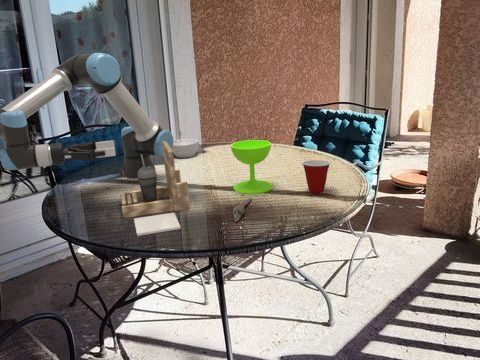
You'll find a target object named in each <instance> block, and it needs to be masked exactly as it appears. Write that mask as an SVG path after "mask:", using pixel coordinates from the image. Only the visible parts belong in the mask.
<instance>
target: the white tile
mask: <svg viewBox="0 0 480 360" xmlns="http://www.w3.org/2000/svg"><path fill="white" fill-rule="evenodd" d="M133 220H134V221H133V222H134V226H135V232H136V237H140V236H145V235H151V234H157V233H159V234H160V233H163V232H165V233H166V232H170V231H175V230H176V231H177V230H181V229H182V228H181V225H180V223H179V220H178V217H177V215H176V213H175V212H170V213H168V212H167V213H163V214H162V213H161V214H155V215H150V216H149V215H147V216H143V217H137V218H135V217H134V218H133Z"/></svg>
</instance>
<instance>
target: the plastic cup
mask: <svg viewBox="0 0 480 360" xmlns="http://www.w3.org/2000/svg"><path fill="white" fill-rule="evenodd" d="M331 163H332V162H331V161H329V160H325V159H323V160H322V159H308V160H304V161H302V162H301V164H302V167H303V169H304V175H305V179H306V184H307V188H308V192H309V193H310V194H315V195H319V194H323V193H324V192H325V188H326V182H327V178H328V171H329V169H330V165H331Z"/></svg>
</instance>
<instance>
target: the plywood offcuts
mask: <svg viewBox="0 0 480 360" xmlns="http://www.w3.org/2000/svg"><path fill="white" fill-rule="evenodd" d="M131 192H132V191H131ZM121 196H122V204H121V205H122V206H127V205H134V204H139V203H138V202H137V198H136V194H135V192H132V197H133V203H132V202H131V197H130V194H129V195H127V200H128V203H126V201H125V194H121Z"/></svg>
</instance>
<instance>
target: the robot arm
mask: <svg viewBox="0 0 480 360" xmlns="http://www.w3.org/2000/svg"><path fill="white" fill-rule="evenodd" d="M120 69H121V67H120V64H119V62H118V61H117V59H115V57H114V56H112V55H111V54H108V53H103V52H95V53H80V54H77V55H74V56H72V57H69V58H68V59H66V60H65V61H64V62H62V63H61V64H59V65H58V66H56V67H55V68H53V69H52V71H51V74H50V75H48V76H47V77H46V78H44V79H43V80H41V81H40V82H38V83H36V85H34V86H33V87H31V88H30V89H28V90H27V91H26V92H24V93H22V94H21V95H19V96H18V97H16V98H15V99H14V100H12V101H10V103H8V104H7V105H5V106H4V107H2V108H1V109H0V139H4V144H5V148H2V149H1V150H0V162H1V166H2V168H3V169H4V170H5V171H14V170H15V171H16V170H17V171H18V170H19V171H20V170H26V169H33V168H41V167H42V168H43V169H46V168H47V167H50V166H52V165H54V166H59V165H64V164H65V162H66V161H97V158H107V157H116V146H115V140H105V141H104V140H103V141H97V142H96V140H93V139H92V140H91V141H88V142H85V143H84V142H83V143H79V144H78V143H77V144H73V145H72V144H71V145H67V146H66V148H64V145H63V144H62V142H55V143H51V144H50V145H49V143H43V144H34V145H31V140H30V135H29V128H28V121H27V119H28V118H29V117H30V116H32V115H34V114H35V113H36V112H38V111H39V110H41V109H42V108H43V107H45V106H46V105H47V104H49V103H50V102H51V101H53V100H54V99H55V98H57V97H58V96H59V95H61V94H62V93H64V92H65V91H67V92H69V91H71V90H72V89H74V88H77V87H79V86H83V85H86V86H87V85H88V86H90V87H91V88H92V89H93V90H94V91H95V92H96V94H98V95H101V96H104V97H105V98H106V99H107V101H108V102H109V103H110V104H111V106H112V107H113V108H114V109H115V110H116V112H117V113H118V114H119V115H120V116H121V117H122V119H123V120H124V121H125V122H126V123H127V124H128V125H129V126H125V127H123V128H122V129H121V131H120V132H121V133H120V135H121V136H120V137H121V143H122V150H123V155H124V156H123V158H124V162H123V168H122V176H123V177H124V178H125V177H127V178H126V179H137V177H138V176H137V175H138V171H139V169H140V168H141V167H143V162H142V158H141V154H142V156H143V161H144V165H145V166H151V167H152V168H154V170H155V171H156V167H155V164H154V162H153V160H152V158H151V156H155V157H163V148H162V141H166V142H167V144H168V145H169V146H170V148H171V149H172V147H173V141H174V140H175V139H174V136H173V133H172V132H171V131H170V130H168V129H163V128H162V127H161V125H160V124H159V123H158V122H157V121H155V120H152V119H151V118H150V117H149V116H148V114H147V113H146V111H144V109H143V108H142V107H141V106H140V104H139V103H138V102H137V100H136V99H135V98H134V96H132V94H131V92H129V90H128V89H127V87H126V86H125V85H124V84H123V82H122V75H121V70H120Z"/></svg>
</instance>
